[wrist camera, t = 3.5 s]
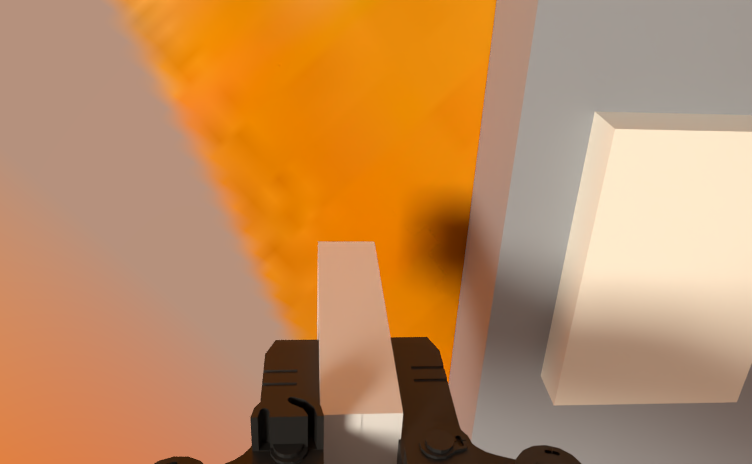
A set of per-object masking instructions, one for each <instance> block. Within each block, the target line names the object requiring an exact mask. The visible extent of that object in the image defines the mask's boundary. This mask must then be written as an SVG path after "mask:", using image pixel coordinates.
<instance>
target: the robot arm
mask: <svg viewBox="0 0 752 464" xmlns="http://www.w3.org/2000/svg"><path fill="white" fill-rule="evenodd" d="M251 436H252V446H251V448H250V449H249V450H248V451H246V452H245V453H244V454H243V455H242V456H240V457H238V458H237V459H235V460H233V461H231V462H228V463H226V464H581V463H580V462H579V461H578V460H577V459H576V458H575V457H574V456H573V455H572V454H570V453H568V452H566V451H564V450H562V449H560V448H557V447H552V446H548V445H538V446H531V447H529V448H527V449H525V450H523V451H522V452H521V453H520V454H519V456H518V457H517V458H516V459H512V458H507V457H503V456H499V455H495V454H492V453H489V452H485V451H484V450H482V449H480V448H478V447H476V446H475V445H474V444H472V442H471V440H470V439H469V437H468V435H467V434H465V433H464V432H463V431H462V430H461V428H460V426H459V422H458V419H457V415H456V411H455V407H454V404H453V400H452V396H451V392H450V389H449V385H448V382H447V377H446V374H445V370H444V368H443V362H442V359H441V355H440V351H439V350H438V349H437V348H436V346H435V345H434V344H433V343H432V342H431V341H430V340H429V339H428V338H427V337H396V338H390V332H389V326H388V320H387V314H386V308H385V302H384V296H383V290H382V284H381V278H380V272H379V267H378V261H377V255H376V249H375V243H374V242H318V311H317V340H276V341H275V342H274V343H273V345H272V346H271V347H270V349H269V350H268V351H267V353H266V354H265V362H264V373H263V382H262V392H261V402H260V403H259V404H258V405H257V406H256V407H255V408H254V410H253V413H252V415H251ZM155 464H203V463H202V462H201V461H199V460H196V459H193V458H190V457H171V458H168V459H164V460H160V461H158V462H157V463H155Z"/></svg>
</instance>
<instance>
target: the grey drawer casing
mask: <svg viewBox="0 0 752 464" xmlns="http://www.w3.org/2000/svg"><path fill="white" fill-rule="evenodd" d="M595 112H637V113H681V114H724V115H752V0H497V3H496V11H495V19H494V27H493V35H492V43H491V51H490V59H489V67H488V75H487V83H486V91H485V99H484V107H483V115H482V123H481V131H480V139H479V147H478V155H477V163H476V171H475V179H474V187H473V195H472V203H471V211H470V219H469V227H468V234H467V242H466V250H465V258H464V266H463V274H462V282H461V290H460V298H459V306H458V314H457V322H456V330H455V338H454V346H453V354H452V362H451V370H450V378H449V389H450V392H451V396H452V400H453V404H454V407H455V411H456V415H457V419H458V422H459V426H460V428H461V430H462V431H463V432H464V433H465V434H467V435H468V437H469V439H470V440H471V442H472V444H474V445H475V446H476V447H478V448H480V449H482V450H484V451H485V452H489V453H492V454H495V455H499V456H503V457H507V458H512V459H516V458H517V457H518V456H519V454H520V453H521V452H522V451H523V450H525V449H527V448H529V447H531V446H538V445H548V446H552V447H557V448H560V449H562V450H564V451H566V452H568V453H570V454H572V455H573V456H574V457H575V458H576V459H577V460H578V461H579V462H580V463H581V464H752V364H751V367H750V369H749V372H748V374H747V377H746V380H745V382H744V385H743V387H742V390H741V393H740V395H739V398H738V400H737V402H726V403H669V404H613V405H556V406H554V405H553V403H552V400H551V398H550V396H549V394H548V391H547V389H546V387H545V385H544V382H543V380H542V378H541V372H542V367H543V362H544V357H545V352H546V348H547V343H548V338H549V333H550V328H551V323H552V318H553V313H554V308H555V304H556V299H557V294H558V289H559V284H560V279H561V274H562V269H563V264H564V260H565V255H566V250H567V245H568V240H569V235H570V230H571V225H572V220H573V216H574V211H575V206H576V201H577V196H578V191H579V186H580V181H581V176H582V172H583V167H584V162H585V157H586V152H587V147H588V142H589V137H590V132H591V128H592V123H593V118H594V113H595Z"/></svg>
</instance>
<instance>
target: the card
mask: <svg viewBox="0 0 752 464" xmlns="http://www.w3.org/2000/svg"><path fill="white" fill-rule="evenodd" d="M751 364H752V115H724V114H681V113H637V112H595V113H594V118H593V123H592V128H591V132H590V137H589V142H588V147H587V152H586V157H585V162H584V167H583V172H582V176H581V181H580V186H579V191H578V196H577V201H576V206H575V211H574V216H573V220H572V225H571V230H570V235H569V240H568V245H567V250H566V255H565V260H564V264H563V269H562V274H561V279H560V284H559V289H558V294H557V299H556V304H555V308H554V313H553V318H552V323H551V328H550V333H549V338H548V343H547V348H546V352H545V357H544V362H543V367H542V372H541V378H542V380H543V382H544V385H545V387H546V389H547V391H548V394H549V396H550V398H551V400H552V403H553V405H554V406H556V405H613V404H669V403H726V402H737V400H738V398H739V395H740V393H741V390H742V387H743V385H744V382H745V380H746V377H747V374H748V372H749V369H750V367H751Z"/></svg>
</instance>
